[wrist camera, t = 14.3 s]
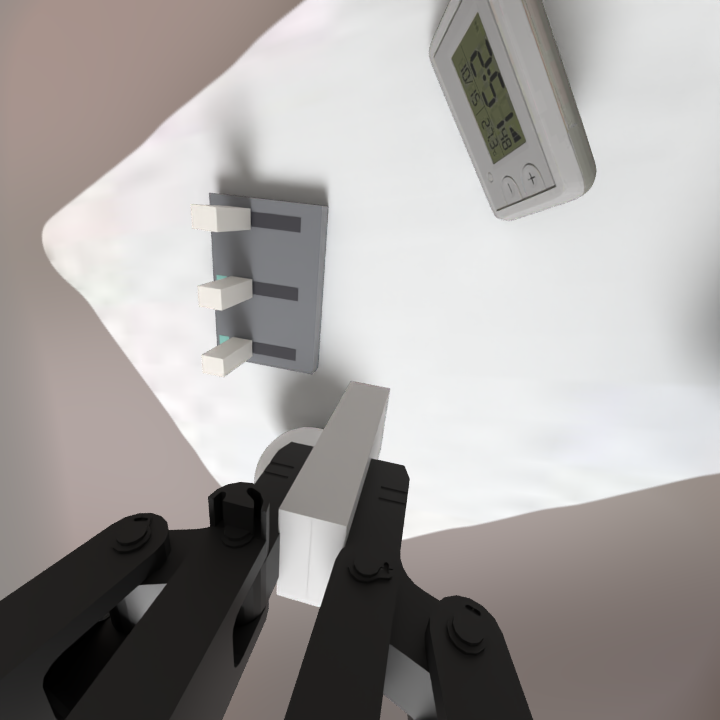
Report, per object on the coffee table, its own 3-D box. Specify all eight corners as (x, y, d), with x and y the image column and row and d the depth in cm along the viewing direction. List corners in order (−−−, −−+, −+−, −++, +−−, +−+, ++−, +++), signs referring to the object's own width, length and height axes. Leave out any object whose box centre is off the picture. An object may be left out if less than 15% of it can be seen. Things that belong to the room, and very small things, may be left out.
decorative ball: (329, 500, 51) (298, 577, 40) (264, 445, 50) (214, 509, 39) (386, 453, 46) (368, 526, 35) (314, 391, 45) (273, 447, 34)
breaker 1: (250, 208, 36) (216, 207, 31) (250, 229, 37) (217, 232, 31) (228, 205, 36) (190, 204, 31) (229, 226, 37) (192, 228, 32)
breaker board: (328, 206, 37) (322, 205, 35) (317, 367, 44) (312, 374, 42) (220, 193, 39) (208, 192, 37) (226, 350, 46) (217, 356, 44)
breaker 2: (252, 340, 42) (223, 359, 36) (252, 356, 42) (223, 377, 37) (232, 336, 42) (201, 355, 36) (233, 352, 43) (202, 372, 37)
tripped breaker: (252, 279, 39) (220, 289, 33) (252, 297, 40) (221, 310, 34) (231, 276, 39) (197, 285, 34) (232, 294, 40) (198, 306, 35)
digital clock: (424, 37, 30) (415, -47, 21) (541, -19, 28) (593, -145, 18) (465, 233, 35) (473, 240, 25) (568, 202, 32) (620, 196, 23)
